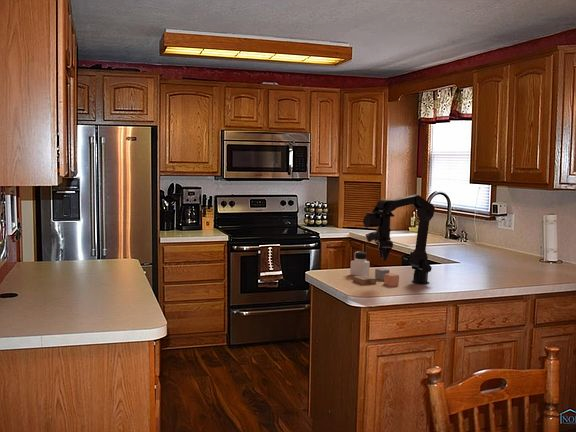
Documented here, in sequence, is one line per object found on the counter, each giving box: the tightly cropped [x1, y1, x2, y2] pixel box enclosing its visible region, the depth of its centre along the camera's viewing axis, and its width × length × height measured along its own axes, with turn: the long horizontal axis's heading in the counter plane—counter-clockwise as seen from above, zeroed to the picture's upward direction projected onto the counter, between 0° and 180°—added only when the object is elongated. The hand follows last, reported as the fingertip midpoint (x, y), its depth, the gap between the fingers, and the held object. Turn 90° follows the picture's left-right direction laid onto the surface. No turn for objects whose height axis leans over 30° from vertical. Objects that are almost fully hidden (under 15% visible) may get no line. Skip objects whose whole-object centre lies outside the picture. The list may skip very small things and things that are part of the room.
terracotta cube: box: [383, 272, 400, 287], centre depth 294 cm, size 5×5×5 cm
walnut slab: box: [352, 275, 377, 286], centre depth 296 cm, size 8×8×3 cm
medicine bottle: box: [349, 251, 371, 276], centre depth 314 cm, size 7×7×12 cm
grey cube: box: [374, 267, 390, 281], centre depth 306 cm, size 5×5×5 cm
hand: (382, 259), depth 288 cm, fingers open, 9 cm apart
